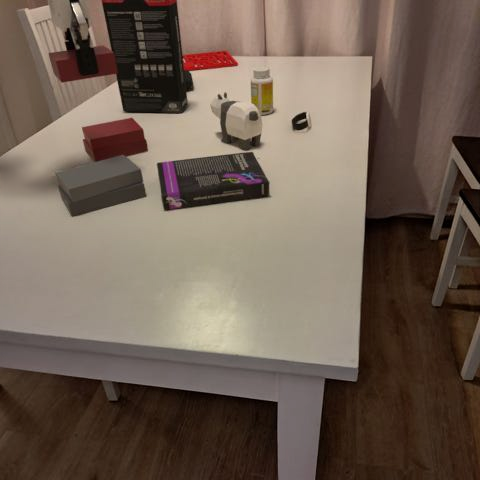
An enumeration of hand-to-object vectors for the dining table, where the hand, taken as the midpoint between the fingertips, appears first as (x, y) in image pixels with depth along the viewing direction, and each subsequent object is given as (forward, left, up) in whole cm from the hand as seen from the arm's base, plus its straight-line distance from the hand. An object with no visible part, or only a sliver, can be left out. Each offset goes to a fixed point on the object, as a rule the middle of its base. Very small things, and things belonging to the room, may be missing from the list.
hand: (84, 68), depth 83 cm
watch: (+47, -1, -20) cm, 51 cm away
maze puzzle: (+56, +73, -19) cm, 94 cm away
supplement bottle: (+45, +14, -20) cm, 51 cm away
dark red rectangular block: (0, 0, -1) cm, 1 cm away
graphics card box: (+23, +33, -20) cm, 45 cm away
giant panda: (+30, 0, -20) cm, 36 cm away
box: (+15, -18, -20) cm, 31 cm away
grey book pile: (-4, -10, -19) cm, 22 cm away
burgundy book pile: (+5, +11, -19) cm, 23 cm away
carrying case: (+36, +51, -20) cm, 65 cm away
